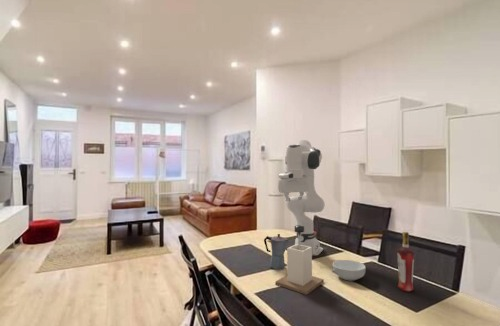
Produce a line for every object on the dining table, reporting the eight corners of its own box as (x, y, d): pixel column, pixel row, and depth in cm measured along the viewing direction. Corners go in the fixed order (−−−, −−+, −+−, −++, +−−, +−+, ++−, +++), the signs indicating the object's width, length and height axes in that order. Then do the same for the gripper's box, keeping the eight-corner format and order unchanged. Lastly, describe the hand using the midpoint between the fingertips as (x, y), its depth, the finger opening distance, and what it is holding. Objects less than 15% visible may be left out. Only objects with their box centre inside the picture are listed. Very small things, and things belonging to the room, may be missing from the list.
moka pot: (289, 271, 165) (288, 236, 164) (262, 269, 168) (262, 235, 167) (290, 265, 174) (289, 232, 174) (265, 263, 177) (264, 231, 177)
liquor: (394, 286, 144) (394, 230, 144) (409, 286, 144) (409, 230, 143) (401, 293, 136) (401, 234, 136) (417, 293, 136) (417, 234, 136)
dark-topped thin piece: (297, 255, 153) (297, 224, 153) (308, 258, 149) (307, 226, 148) (291, 259, 148) (290, 226, 148) (301, 261, 144) (301, 228, 144)
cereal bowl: (364, 273, 160) (364, 261, 160) (366, 286, 144) (366, 272, 144) (333, 270, 166) (333, 258, 166) (331, 281, 150) (331, 268, 150)
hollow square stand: (293, 273, 161) (293, 240, 161) (323, 282, 149) (323, 246, 149) (275, 284, 147) (275, 248, 147) (306, 294, 136) (306, 255, 135)
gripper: (302, 174, 162) (302, 199, 162) (276, 174, 149) (276, 201, 149) (311, 174, 157) (311, 200, 157) (285, 175, 144) (285, 202, 144)
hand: (294, 200), depth 153 cm, fingers open, 8 cm apart
